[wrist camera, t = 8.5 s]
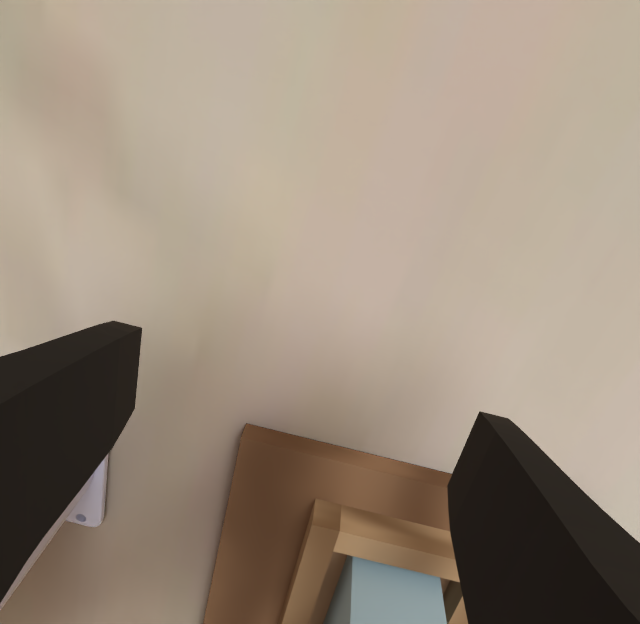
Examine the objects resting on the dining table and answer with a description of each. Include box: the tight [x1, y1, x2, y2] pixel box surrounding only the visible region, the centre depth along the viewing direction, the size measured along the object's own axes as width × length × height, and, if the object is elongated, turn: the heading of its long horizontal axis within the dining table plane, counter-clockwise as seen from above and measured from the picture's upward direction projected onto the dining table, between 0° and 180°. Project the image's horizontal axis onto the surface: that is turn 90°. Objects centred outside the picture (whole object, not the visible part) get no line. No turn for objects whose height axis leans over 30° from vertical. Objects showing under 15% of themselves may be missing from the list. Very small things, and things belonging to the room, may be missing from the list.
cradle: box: [203, 424, 468, 624], centre depth 25 cm, size 16×18×2 cm
